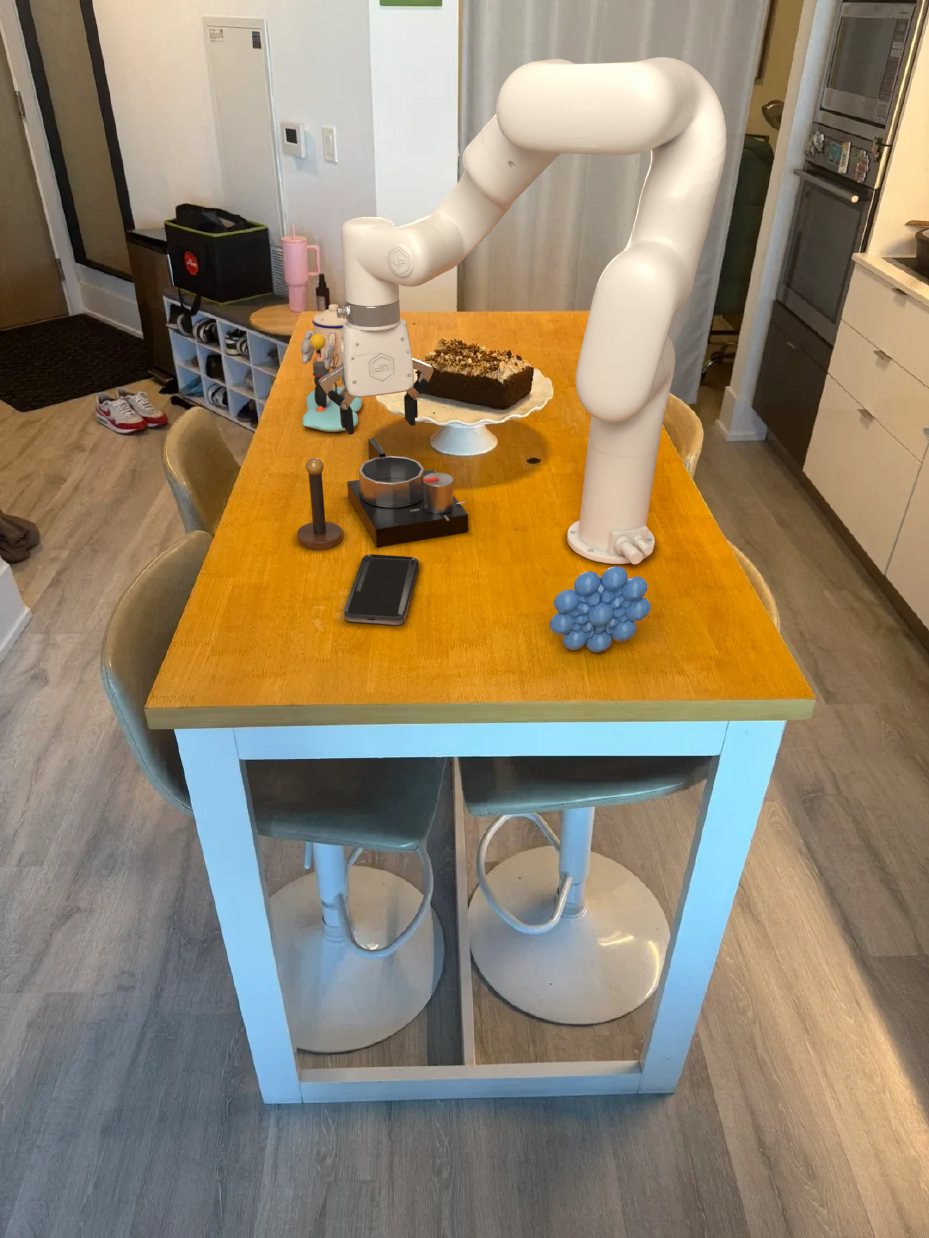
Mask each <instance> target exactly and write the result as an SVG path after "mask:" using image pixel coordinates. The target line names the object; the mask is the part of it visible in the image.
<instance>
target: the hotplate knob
mask: <svg viewBox="0 0 929 1238" xmlns="http://www.w3.org/2000/svg"><path fill="white" fill-rule="evenodd" d="M453 496H454V477H453V476H452V475H450V474H448V473H446V472H445V473H444V472H435V473H431V474H428V475H426V476H424V478H423V508H424V510H425V511H427V512H429V513H433V514H443V513H447V512H449V511H451V510H452V509H453Z"/></svg>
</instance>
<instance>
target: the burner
mask: <svg viewBox="0 0 929 1238" xmlns="http://www.w3.org/2000/svg"><path fill="white" fill-rule="evenodd" d="M375 481H378V482H389V483H395V482H402V481H408V480H407V479H402V478H384V479H377V480H375ZM359 495H360V498H361V499H362V500H363V501H364V502H366V503H367V504H370V505H372V506H376V507H380V508H404V507H408V506H412V505H414V504H417V503H418V502H420V501H421V500H423V493H422V495H421V497H420V498H418V499H416V500H414V501H412V502H410V503H406V504H399V505H383V504H376V503H373V502H371V501H369V500H366V499H364V497H363V496H362V494H361V493H360V491H359Z"/></svg>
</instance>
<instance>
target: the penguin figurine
mask: <svg viewBox="0 0 929 1238" xmlns="http://www.w3.org/2000/svg"><path fill="white" fill-rule="evenodd" d="M330 335H332V334H330ZM331 337H332V336H331ZM337 338H338V337H337ZM330 342H331V341H330ZM330 342H329V343H327V345H326V347H325V351H324V360H325V362H323V361H319V362H317V361H315V362H313V363H312V370H313V373H312V376H313V377H314V379H313V382H314V385H315V387H314V390H312V391H310V393H308V394H307V396H306V399H305V404H306V406H307V407H306V412H305V413H304V415H302V425H303V426H304V427H307V428H310V429H314V430H318V431H321V432H322V431H323V432H329V433H339V432H344V431H346V429H345V428H342V426H341V419H340V407H339V406H338V405H337V404H336V403H334V402H333V401H332V400H330V399H329V397H328V396H327V394H326V393H325V391H324V390H323V388H322V387H321V385H320V384H319V379H320V378H322V377H323V376H325V375H326V374H328V373H329V372H330V369H331V367H330V366H331V363H332V362H334V363H333V367H332V370H334V369H335V368H337V367H338V364H337V363H338V361H339V357H338V361H337V363H336V364H335V361H336V360H334V358H335V357H336V356H335V357H334V351H335V350H334V345H333V346H332V344H333V343H332V342H333V340H332V342H331V343H332V344H331V343H330ZM325 343H326V341H325V338H324V336H323V335H321V334H314V330H307V331H305V333H304V338H303V339H302V341H301V346H300V351H301V361H302V363H303V364H304V365H307V364H308V363H310V362H311V361H312V359H313V356H314V354H315V352H316V349H318V350H319V349H322V348H323V347H324V346H325ZM337 347H338V346H337ZM337 356H338V355H337ZM332 360H333V361H332ZM334 365H335V367H334ZM336 365H337V367H336ZM340 365H341V364H340ZM310 382H312V379H310ZM333 385H334V386H332V388H333V390H334V391H335V392H337V393H338V394H340V392H341V391H342V389H343V388H344V386H343V384H340V383H338V382H337V381H336V382H334V383H333ZM362 406H363V398H358V397H355V398H354V400H353V401H352V403H351V404H350V407H351V409H352V411H353V424H354V428H355V427H356V426H357V425H358V424H359V417H358V413H357V412H359V411H360V410H361V408H362Z"/></svg>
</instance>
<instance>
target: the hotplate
mask: <svg viewBox="0 0 929 1238" xmlns="http://www.w3.org/2000/svg"><path fill="white" fill-rule="evenodd" d="M431 473H436V471H435V470H434V469H431V468H430V469H424V476H426V475H428V474H431ZM346 485H347V499H348V501H349V503H350V505H352V507H353V510H354V511H355V513H356V514H357V516H358V518H359V520H360V521H361V523H362V525H363V527H364V529H365V530H366V531H367V533H368V535H369V537H370V538H371V540H372V542H373V544H374V546H375V547H376V548H382V547H388V546H393V545H400V544H407V543H412V542H419V541H424V540H431V539H437V538H442V537H448V536H454V535H460V534H466V533H467V534H468V533H469V513H468V512H467V511H466V509H465V508H464V507H463V505H466V503H467V502H466V501H458V499H457V498H456V497H455V496H454V495H453V509H452V510H451V511H449V512H447V513H443V514H433V513H429V512H427V511H425V510H424V508H423V500H421V501H420V502H418V503H417V504H414V505H412V506H408V507H404V508H380V507H376V506H372V505H370V504H367V503H366V502H364V501H363V500H362V499H361V498H360V495H359V491H360V485H359V479H355V480H348V481H347V482H346Z"/></svg>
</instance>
